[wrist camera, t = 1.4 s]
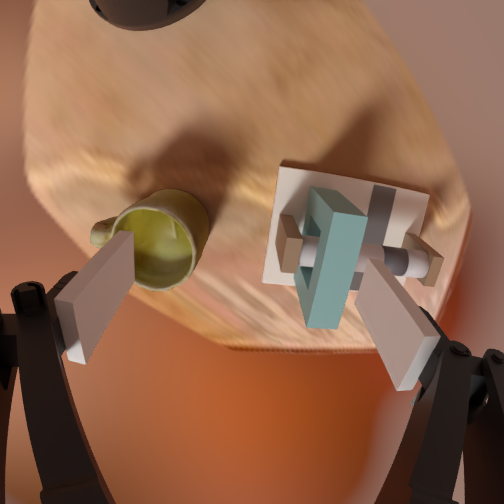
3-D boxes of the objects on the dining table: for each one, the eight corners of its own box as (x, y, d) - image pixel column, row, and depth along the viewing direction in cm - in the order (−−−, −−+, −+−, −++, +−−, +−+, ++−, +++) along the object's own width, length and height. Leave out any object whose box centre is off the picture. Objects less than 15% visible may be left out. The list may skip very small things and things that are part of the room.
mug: (234, 190, 34) (194, 243, 26) (213, 259, 40) (178, 316, 32) (136, 152, 34) (79, 191, 26) (130, 221, 40) (84, 267, 33)
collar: (293, 277, 38) (306, 327, 29) (310, 186, 34) (333, 211, 25) (317, 279, 38) (337, 329, 29) (336, 190, 34) (368, 217, 25)
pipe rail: (261, 279, 40) (264, 317, 32) (279, 165, 34) (288, 178, 27) (398, 292, 41) (423, 326, 33) (426, 193, 36) (463, 212, 28)
